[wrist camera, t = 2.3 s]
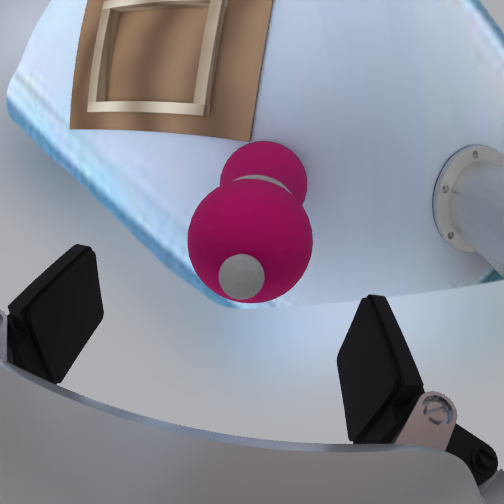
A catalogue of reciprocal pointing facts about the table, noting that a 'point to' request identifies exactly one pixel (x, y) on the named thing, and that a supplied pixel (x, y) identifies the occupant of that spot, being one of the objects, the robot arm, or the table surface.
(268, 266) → the pepper mill
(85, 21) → the stand
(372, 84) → the table surface
